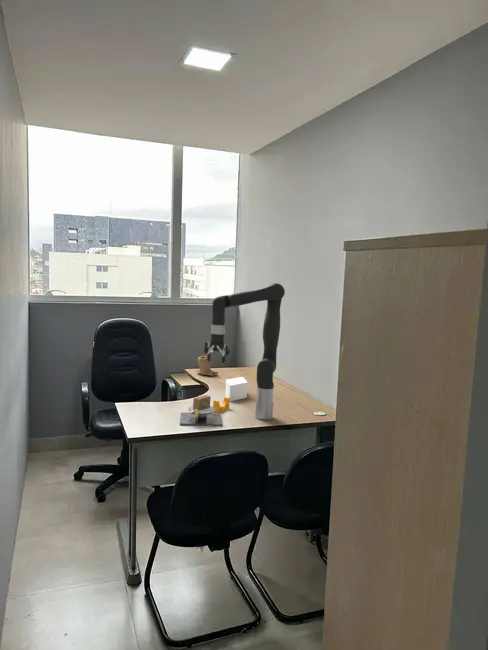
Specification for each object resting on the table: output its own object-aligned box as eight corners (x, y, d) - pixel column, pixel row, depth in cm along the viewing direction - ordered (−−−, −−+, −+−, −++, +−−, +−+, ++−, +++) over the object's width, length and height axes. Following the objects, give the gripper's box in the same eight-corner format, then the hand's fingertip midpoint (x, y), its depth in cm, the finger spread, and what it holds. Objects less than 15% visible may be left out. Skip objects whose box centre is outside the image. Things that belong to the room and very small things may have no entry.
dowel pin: (197, 422, 258) (198, 409, 257) (197, 423, 256) (198, 410, 256) (194, 422, 258) (195, 409, 257) (194, 423, 256) (195, 409, 256)
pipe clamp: (218, 413, 281) (219, 402, 281) (212, 411, 284) (213, 400, 283) (231, 409, 291) (232, 398, 290) (225, 407, 294) (226, 397, 293)
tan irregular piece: (193, 374, 380) (194, 355, 379) (202, 372, 391) (203, 353, 389) (210, 377, 373) (211, 358, 371) (218, 375, 383) (219, 356, 382)
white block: (252, 393, 333) (252, 378, 332) (240, 403, 306) (241, 386, 304) (231, 390, 337) (232, 375, 336) (218, 400, 309) (219, 384, 308)
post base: (220, 415, 277) (221, 407, 276) (222, 426, 257) (222, 417, 256) (181, 414, 274) (181, 405, 274) (179, 425, 255) (180, 416, 254)
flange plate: (198, 405, 275) (199, 392, 274) (219, 410, 267) (220, 397, 267) (179, 412, 260) (180, 398, 260) (201, 417, 253) (201, 403, 252)
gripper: (232, 333, 272) (230, 362, 274) (209, 331, 278) (207, 359, 279) (226, 334, 265) (225, 364, 267) (203, 332, 271) (201, 361, 272)
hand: (216, 361), depth 273 cm, fingers open, 8 cm apart
